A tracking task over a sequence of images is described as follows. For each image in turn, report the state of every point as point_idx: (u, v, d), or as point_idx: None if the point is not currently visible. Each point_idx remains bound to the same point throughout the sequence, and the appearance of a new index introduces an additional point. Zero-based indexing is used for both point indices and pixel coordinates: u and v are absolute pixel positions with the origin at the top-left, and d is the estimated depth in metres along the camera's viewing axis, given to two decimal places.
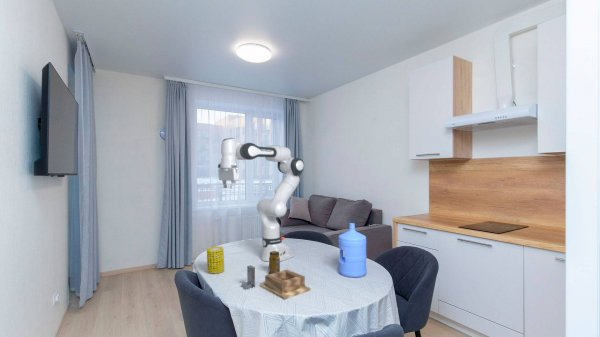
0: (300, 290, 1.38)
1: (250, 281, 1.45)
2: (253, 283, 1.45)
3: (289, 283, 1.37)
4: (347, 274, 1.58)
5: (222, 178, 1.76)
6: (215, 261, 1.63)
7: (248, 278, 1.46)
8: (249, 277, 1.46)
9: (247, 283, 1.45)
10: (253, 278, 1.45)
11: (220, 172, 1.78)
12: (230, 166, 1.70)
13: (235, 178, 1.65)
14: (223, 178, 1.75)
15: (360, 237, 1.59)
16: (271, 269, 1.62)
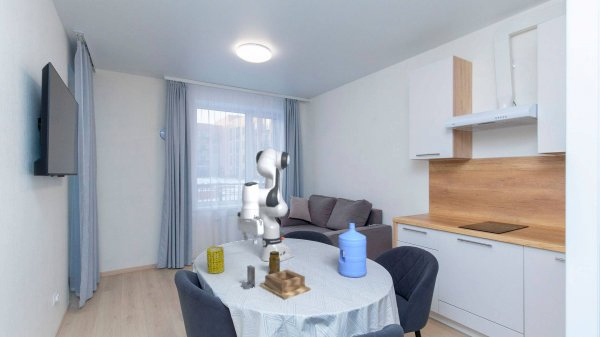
0: (300, 290, 1.38)
1: (250, 281, 1.45)
2: (253, 283, 1.45)
3: (289, 283, 1.37)
4: (347, 274, 1.58)
5: (242, 229, 1.49)
6: (215, 261, 1.63)
7: (248, 278, 1.46)
8: (249, 277, 1.46)
9: (247, 283, 1.45)
10: (253, 278, 1.45)
11: (240, 221, 1.51)
12: (253, 217, 1.43)
13: (259, 233, 1.39)
14: (243, 229, 1.48)
15: (360, 237, 1.59)
16: (271, 269, 1.62)
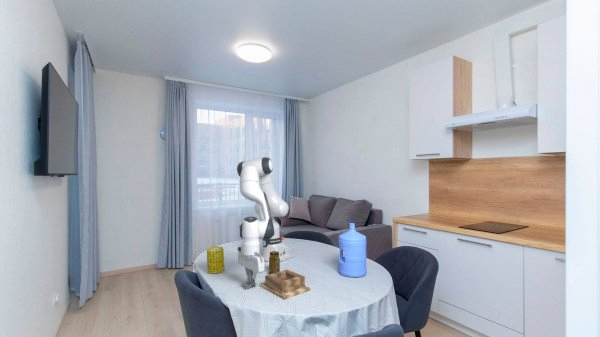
0: (300, 290, 1.38)
1: (250, 281, 1.45)
2: (253, 283, 1.45)
3: (289, 283, 1.37)
4: (347, 274, 1.58)
5: (243, 264, 1.49)
6: (215, 261, 1.63)
7: (248, 278, 1.46)
8: (249, 277, 1.46)
9: (247, 283, 1.45)
10: None
11: (240, 255, 1.51)
12: (253, 253, 1.42)
13: (260, 270, 1.38)
14: (244, 264, 1.48)
15: (360, 237, 1.59)
16: (271, 269, 1.62)
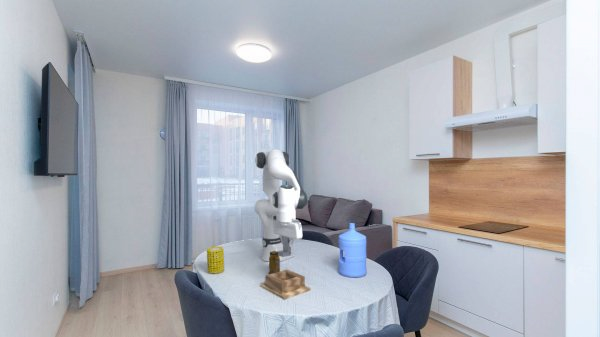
0: (300, 290, 1.38)
1: (286, 249, 1.43)
2: (289, 251, 1.43)
3: (289, 283, 1.37)
4: (347, 274, 1.58)
5: (278, 232, 1.47)
6: (215, 261, 1.63)
7: (284, 246, 1.45)
8: (285, 245, 1.44)
9: (283, 251, 1.44)
10: None
11: (275, 224, 1.49)
12: (290, 220, 1.41)
13: (298, 236, 1.37)
14: (280, 233, 1.46)
15: (360, 237, 1.59)
16: (271, 269, 1.62)
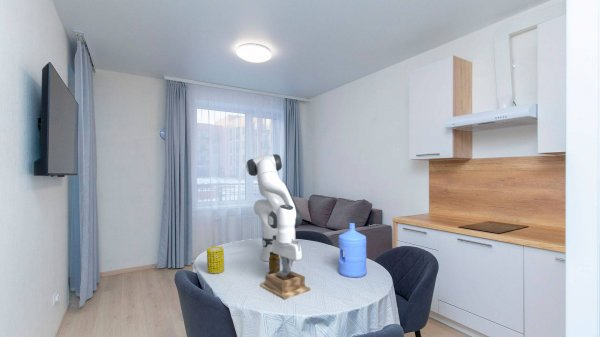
0: (300, 290, 1.38)
1: (286, 269, 1.43)
2: (289, 271, 1.43)
3: (289, 283, 1.37)
4: (347, 274, 1.58)
5: (278, 252, 1.47)
6: (215, 261, 1.63)
7: (283, 266, 1.44)
8: (284, 266, 1.44)
9: (283, 271, 1.43)
10: None
11: (275, 244, 1.49)
12: (290, 241, 1.41)
13: (298, 258, 1.36)
14: (279, 253, 1.46)
15: (360, 237, 1.59)
16: (271, 269, 1.62)
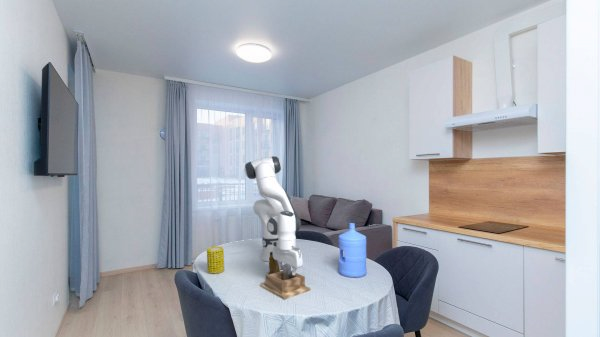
0: (300, 290, 1.38)
1: None
2: None
3: (289, 283, 1.37)
4: (347, 274, 1.58)
5: (278, 259, 1.47)
6: (215, 261, 1.63)
7: (284, 277, 1.45)
8: (285, 276, 1.44)
9: None
10: (289, 277, 1.43)
11: (275, 250, 1.49)
12: (290, 248, 1.41)
13: (298, 265, 1.37)
14: (280, 259, 1.46)
15: (360, 237, 1.59)
16: (271, 269, 1.62)
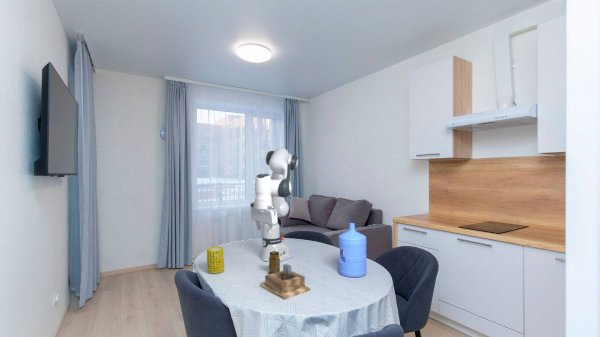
0: (300, 290, 1.38)
1: None
2: None
3: (289, 283, 1.37)
4: (347, 274, 1.58)
5: (256, 219, 1.55)
6: (215, 261, 1.63)
7: (284, 277, 1.45)
8: (285, 276, 1.44)
9: None
10: (289, 277, 1.43)
11: (253, 211, 1.57)
12: (266, 207, 1.49)
13: (273, 222, 1.44)
14: (257, 219, 1.54)
15: (360, 237, 1.59)
16: (271, 269, 1.62)
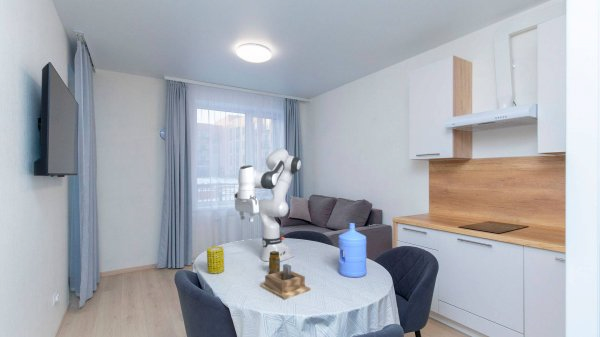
0: (300, 290, 1.38)
1: None
2: None
3: (289, 283, 1.37)
4: (347, 274, 1.58)
5: (239, 209, 1.61)
6: (215, 261, 1.63)
7: (284, 277, 1.45)
8: (285, 276, 1.44)
9: None
10: (289, 277, 1.43)
11: (237, 202, 1.63)
12: (249, 197, 1.55)
13: (255, 211, 1.50)
14: (240, 209, 1.60)
15: (360, 237, 1.59)
16: (271, 269, 1.62)
